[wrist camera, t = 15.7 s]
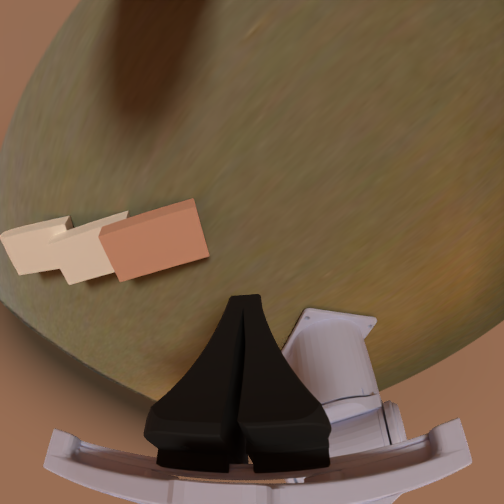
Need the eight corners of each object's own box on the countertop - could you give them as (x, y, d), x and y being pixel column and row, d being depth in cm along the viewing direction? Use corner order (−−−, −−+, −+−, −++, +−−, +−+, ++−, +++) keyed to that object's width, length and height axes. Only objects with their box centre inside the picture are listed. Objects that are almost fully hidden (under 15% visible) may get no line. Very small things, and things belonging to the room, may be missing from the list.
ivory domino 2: (126, 218, 19) (47, 244, 18) (143, 264, 21) (68, 285, 20) (128, 210, 20) (53, 235, 19) (144, 253, 22) (72, 274, 21)
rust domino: (195, 206, 18) (98, 236, 17) (209, 256, 20) (120, 282, 20) (193, 198, 19) (102, 226, 18) (206, 245, 22) (122, 270, 21)
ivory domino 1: (64, 223, 19) (2, 237, 17) (78, 265, 21) (18, 275, 20) (69, 215, 20) (9, 229, 19) (82, 255, 22) (24, 265, 21)
